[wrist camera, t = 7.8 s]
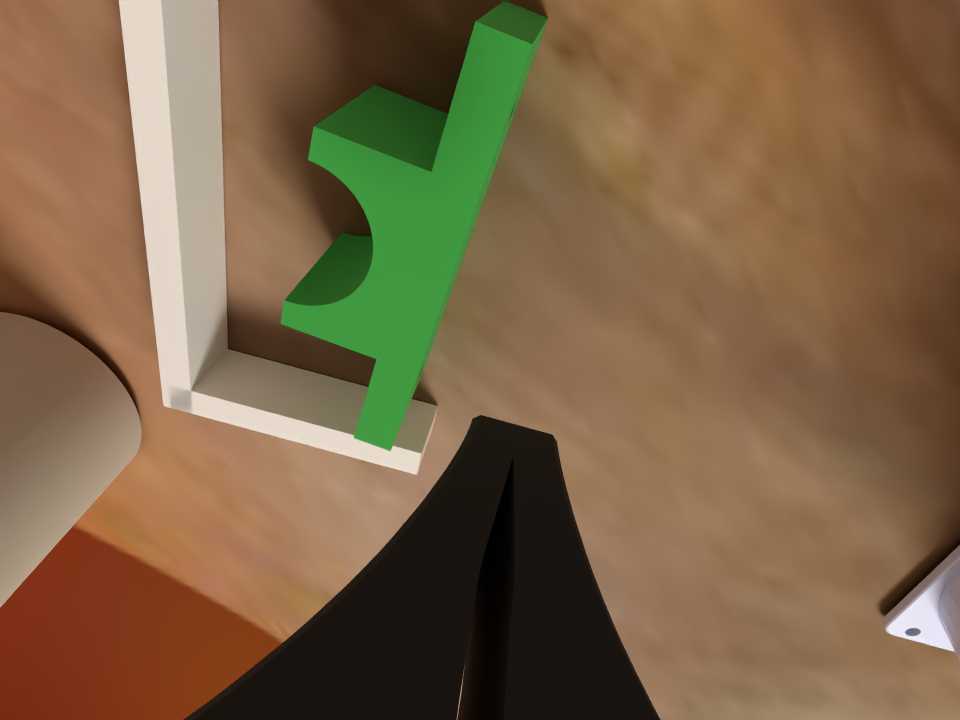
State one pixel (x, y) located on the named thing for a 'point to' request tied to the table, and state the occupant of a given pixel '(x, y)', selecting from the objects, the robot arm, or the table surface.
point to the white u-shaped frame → (218, 251)
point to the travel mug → (54, 440)
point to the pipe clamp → (410, 212)
